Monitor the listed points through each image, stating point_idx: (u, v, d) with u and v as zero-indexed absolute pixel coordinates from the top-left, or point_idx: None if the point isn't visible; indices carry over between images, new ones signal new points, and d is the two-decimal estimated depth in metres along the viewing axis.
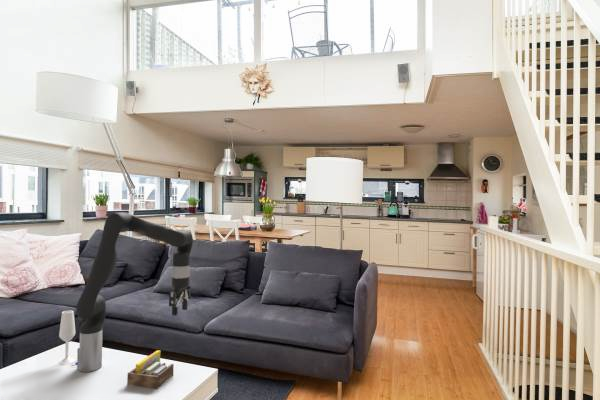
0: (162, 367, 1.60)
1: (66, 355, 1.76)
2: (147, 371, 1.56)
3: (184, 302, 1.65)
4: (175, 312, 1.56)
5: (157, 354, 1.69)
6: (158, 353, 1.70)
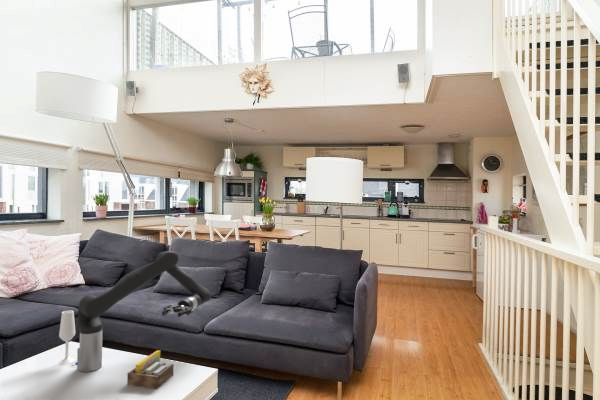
0: (162, 367, 1.60)
1: (66, 355, 1.76)
2: (147, 371, 1.56)
3: (167, 311, 1.85)
4: (181, 315, 1.81)
5: (157, 354, 1.69)
6: (158, 353, 1.70)
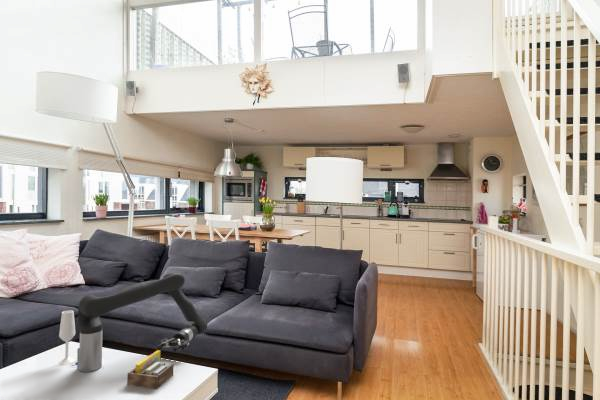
0: (162, 367, 1.60)
1: (66, 355, 1.76)
2: (147, 371, 1.56)
3: (162, 345, 1.82)
4: (176, 350, 1.78)
5: (157, 354, 1.69)
6: (158, 353, 1.70)
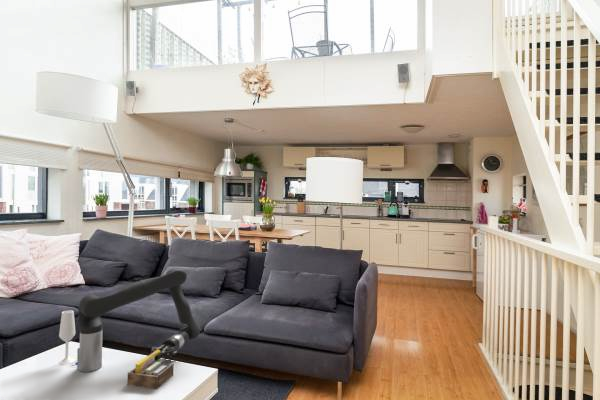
0: (162, 367, 1.60)
1: (66, 355, 1.76)
2: (147, 371, 1.56)
3: None
4: (158, 358, 1.68)
5: None
6: None
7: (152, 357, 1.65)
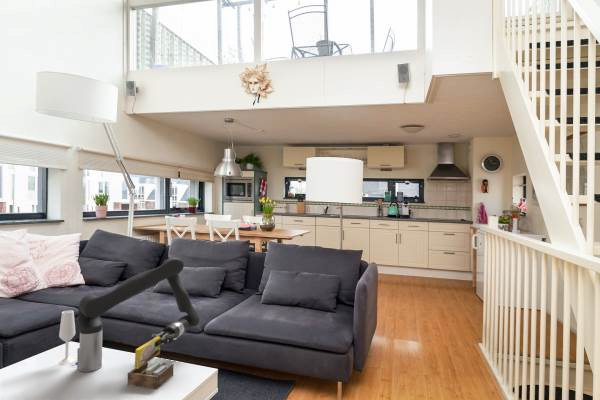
0: (162, 367, 1.60)
1: (66, 355, 1.76)
2: (147, 371, 1.56)
3: None
4: (158, 345, 1.68)
5: (157, 340, 1.69)
6: (158, 339, 1.70)
7: (152, 343, 1.65)
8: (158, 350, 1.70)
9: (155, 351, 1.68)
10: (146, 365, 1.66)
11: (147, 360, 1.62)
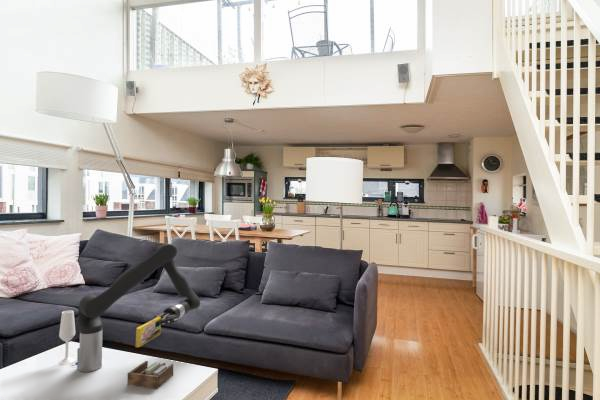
0: (162, 367, 1.60)
1: (66, 355, 1.76)
2: (147, 371, 1.56)
3: None
4: None
5: (158, 320, 1.69)
6: (159, 319, 1.70)
7: (153, 323, 1.65)
8: (159, 330, 1.70)
9: (156, 331, 1.68)
10: (146, 365, 1.66)
11: (148, 339, 1.62)
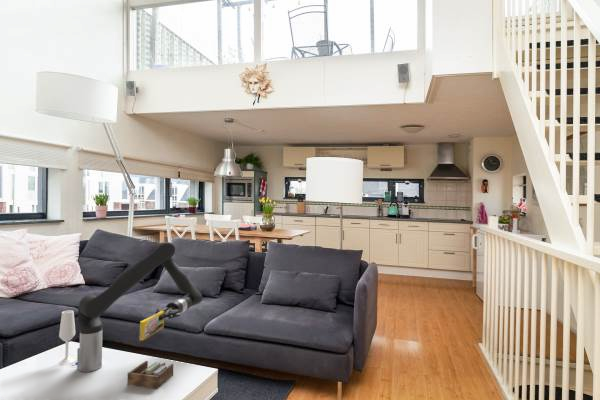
0: (162, 367, 1.60)
1: (66, 355, 1.76)
2: (147, 371, 1.56)
3: None
4: (162, 319, 1.71)
5: (161, 314, 1.72)
6: (162, 313, 1.72)
7: (156, 317, 1.68)
8: (162, 324, 1.73)
9: (159, 325, 1.70)
10: (146, 365, 1.66)
11: (151, 333, 1.65)
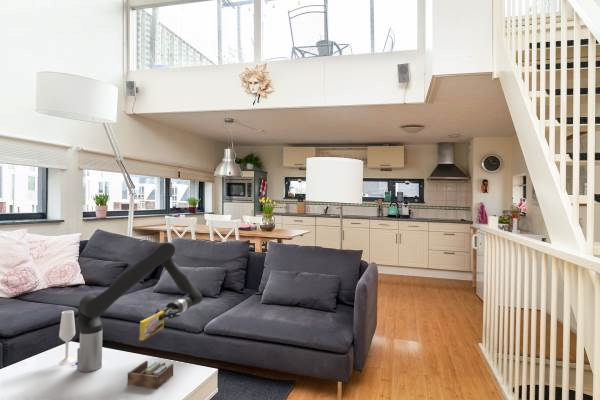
0: (162, 367, 1.60)
1: (66, 355, 1.76)
2: (147, 371, 1.56)
3: None
4: (162, 319, 1.71)
5: (161, 314, 1.72)
6: (162, 313, 1.72)
7: (156, 317, 1.68)
8: (162, 324, 1.73)
9: (159, 325, 1.70)
10: (146, 365, 1.66)
11: (151, 333, 1.65)
